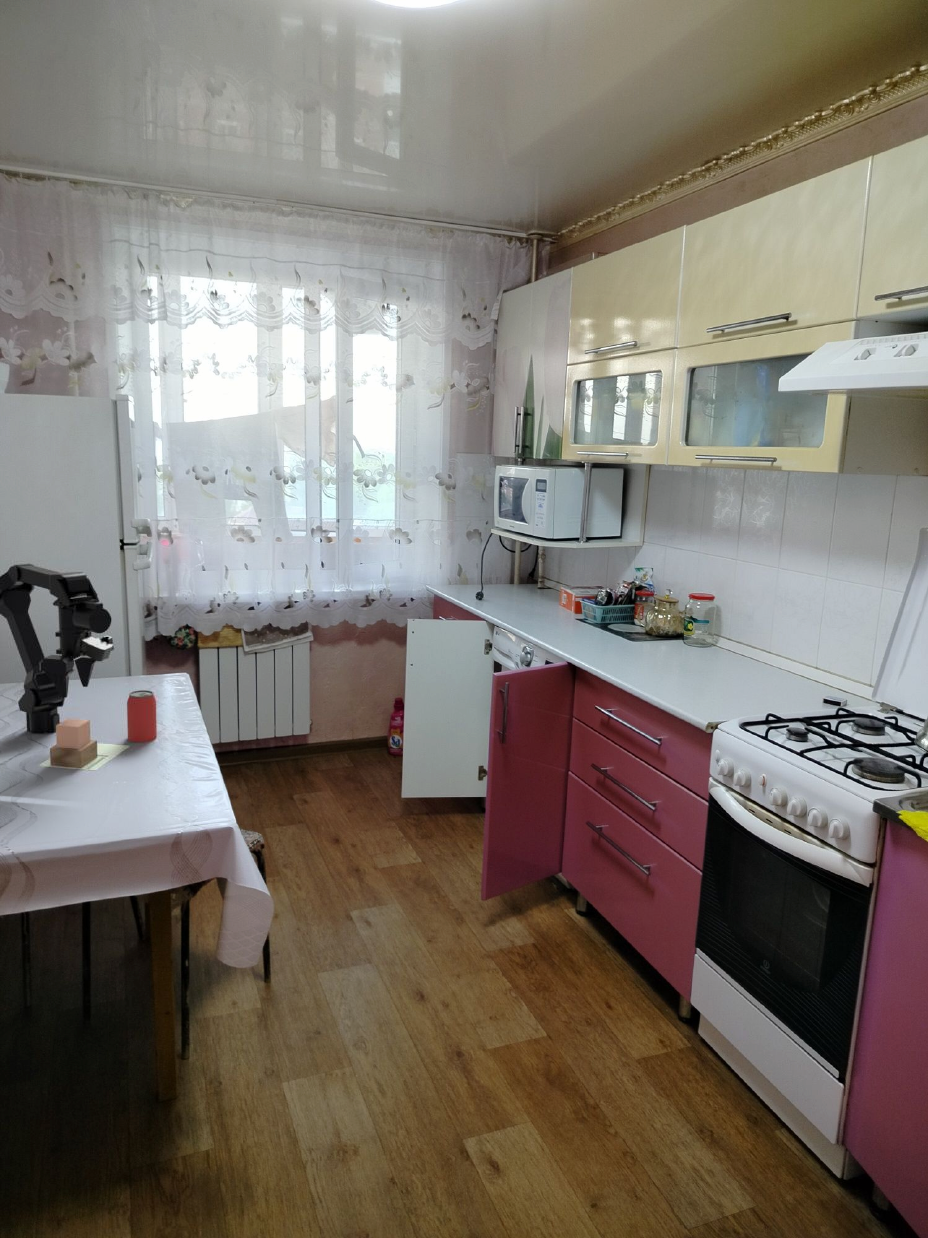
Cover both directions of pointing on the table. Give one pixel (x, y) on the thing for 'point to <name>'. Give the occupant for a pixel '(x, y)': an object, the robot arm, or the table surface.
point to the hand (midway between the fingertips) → (75, 692)
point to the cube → (73, 733)
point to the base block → (73, 755)
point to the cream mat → (104, 755)
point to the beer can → (141, 716)
